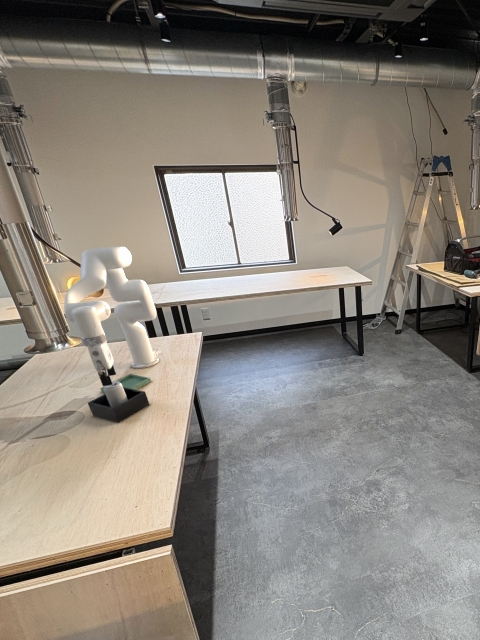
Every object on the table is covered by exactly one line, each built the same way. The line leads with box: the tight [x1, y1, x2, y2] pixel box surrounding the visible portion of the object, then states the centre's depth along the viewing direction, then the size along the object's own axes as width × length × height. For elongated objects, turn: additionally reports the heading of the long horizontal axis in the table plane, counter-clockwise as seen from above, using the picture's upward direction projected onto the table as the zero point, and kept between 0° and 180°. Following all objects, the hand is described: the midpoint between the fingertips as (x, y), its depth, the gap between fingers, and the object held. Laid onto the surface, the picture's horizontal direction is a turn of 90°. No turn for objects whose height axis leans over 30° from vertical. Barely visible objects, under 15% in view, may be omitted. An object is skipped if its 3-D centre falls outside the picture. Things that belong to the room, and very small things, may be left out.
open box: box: [87, 387, 151, 424], centre depth 168 cm, size 15×15×6 cm
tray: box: [99, 373, 152, 394], centre depth 188 cm, size 15×13×2 cm
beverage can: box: [103, 380, 128, 408], centre depth 166 cm, size 6×6×12 cm
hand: (109, 380), depth 162 cm, fingers open, 9 cm apart
